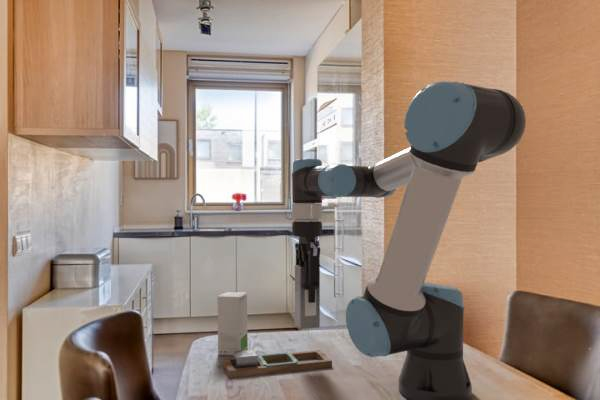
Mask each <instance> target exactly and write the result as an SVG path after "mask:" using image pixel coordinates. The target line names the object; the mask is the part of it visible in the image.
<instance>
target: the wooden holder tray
mask: <svg viewBox="0 0 600 400" xmlns="http://www.w3.org/2000/svg"><path fill="white" fill-rule="evenodd" d="M257 356H258V366H257V367H247V368H236V369H234V357H229V358H223V361H222V363H223V364H222V365H223V367H224V369H225V372H226V374H227V375H228V378H229V379H231V378H239V377H247V376H257V375H258V376H260V375H265V374H269V375H270V374H278V373H284V372H286V373H288V372H295V371H296V372H298V371H305V370H307V371H308V370H314V369H315V370H316V369H326V368H333V360H332V359H331V358H329V356H327V354H325V353H323V352H322V350H321V349H315V350H307V351H294V352H293V351H292V352H288V351H286V352H276V353H275V352H274V353H265V354H264V353H263V354H258V355H257ZM306 359H316V360H310V361H301V362H300V361H299V360H306ZM285 361H286V362H285ZM277 362H278V363H277Z"/></svg>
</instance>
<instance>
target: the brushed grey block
mask: <svg viewBox="0 0 600 400" xmlns="http://www.w3.org/2000/svg"><path fill="white" fill-rule="evenodd" d="M305 269H306V268H305V265H296V264H295V265H294V325H295V326H296V327H298V329H300V330H303V329H315V328H321V327H320V323H321V322H320V320H321V319H320V316H321V314H320V313H321V310H320V308H321V307H320V304H321V303H320V300H321V299H320V298H321V296H320V291H321V289H320V287H321V286H320V287H319V288H317V289H316V315H314V316H305V290H304V288H303V287H306V276H305Z"/></svg>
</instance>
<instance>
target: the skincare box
mask: <svg viewBox="0 0 600 400" xmlns="http://www.w3.org/2000/svg"><path fill="white" fill-rule="evenodd" d="M248 340H249V339H248V292H246V291H239V292H238V291H236V292H235V291H233V292H232V291H226V292H225V293H224V292H223V293H221V294H219V295H217V355H219V356H228V357H229V356H232V357H234V351H243V350H248V346H249V345H248V342H249V341H248Z"/></svg>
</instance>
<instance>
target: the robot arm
mask: <svg viewBox="0 0 600 400" xmlns="http://www.w3.org/2000/svg"><path fill="white" fill-rule="evenodd" d="M526 120H527V119H526V113H525V110H524V108H523V106H522V104H521V102H520V101H519V100H518V99H517V98H516V97H515V96H513V95H512V94H511V93H509V92H508V91H507V92H506V91H504V90H502V89H498V88H497V89H496V88H488V87H484V86H483V87H482V86H478V85H473V84H468V83H465V82H458V81H445V80H443V81H435V82H432V83H430V84H428V85H427V86H426V87H424V88H422V89H421V90H420V91H418V92H417V93H416V95H414V97H413V98H412V100H411V102H410V104H409V105H408V108H407V110H406V113H405V116H404V129H405V130H406V131H405V133H404V134H405V137H406V140H407V141H408V143H409V144H410V147H407V148H405V149H403V150H401V151H399V152H397V153H395V154H393V155H391V156H388V157H387V158H384V159H382V160H380V161H378V162H376V163H374V164H372V165H367V166H365V165H364V166H363V165H362V166H361V165H347V164H343V163H331V164H327V165H323V162H322V160H321V159H319V158H298V159H294V161H293V162H292V173H291V183H292V184H291V187H292V188H291V193H292V194H291V195H292V197H291V199H292V203H291V211H292V212H291V219H293V220H294V221H292V225H291V226H292V227H291V230H292V231H291V233H292V235H291V236H294V237H298V242H296V243H295V244H294V247H295V250H294V251H295V265H305V268H306V269H305V276H306V287H303V288H304V290H305V316H314V315H316V289H317V288H319V287H321V286H320V284H321V283H320V281H321V280H320V279H321V277H320V275H321V274H320V272H321V271H320V268H321V266H320V265H321V264H320V255H321V248H320V247H319V246H317V241H316V237H317V238H319V237H321V236H322V235H323V223H322V221H321V220H322V219H323V211H324V210H325V209H324V207H323V197H324V198H357V197H358V198H377V199H379V198H387V197H390V196H392V195H393V194H394V193H395V191H396V190H398V188H401V187H404V186H406V185H407V186H406V187H405V191H404V195H403V196H402V197H403V198H402V201H401V204H400V207H399V210H398V212H397V213H398V214H397V217H396V220H395V222H394V224H393V228H392V232H391V235H390V239H389V240H388V244H387V247H386V251H385V253H384V256H383V260H382V263H381V267H380V268H379V272H378V275H375V276H372V277H370V278H369V280H368V281H367V284H366V286H365V289H364V293H363V295H362V296H356V297H354V298H353V299H351V300H350V301H349V302H348V304H347V306H346V308H345V310H346V311H345V322H346V323H345V324H346V328H347V331H348V335H349V338H350V339H351V342H352V344H354V347H355V348H356V349H357V350H358V351H359V352H360V353H361V354H363V355H365V356H366V357H370V358H376V357H387V356H390V355H394V354H400V353H403V352H406V356H405V359H404V361H403V364H402V368H401V372H400V374H399V376H398V392H399V393H400V394H401V395H402V396H404V397H405V398H407V399H408V400H471V399H472V396H473V392H472V391H473V390H472V389H473V387H472V386H473V385H472V382H471V379H470V376H469V373H468V370H467V366H466V364H465V361H464V310H465V306H464V296H463V292H462V291H461V290H460V289H459V288H456V287H454V286H449V285H443V284H437V283H430V282H429V283H428V282H425V281H426V279H427V275H428V273H429V270H430V267H431V265H432V263H433V260H434V256H435V253H436V252H437V248H438V245H439V243H440V240H441V238H442V236H443V232H444V229H445V227H446V223H447V220H448V218H449V215H450V213H451V210H452V207H453V204H454V203H455V199H456V196H457V193H458V191H459V188H460V185H461V182H462V180H463V178H465V177H466V176H469V175H471V174H473V173H475V171H476V168H477V165H478V164H479V163H481V162H484V161H487V160H490V159H492V158H496V157H499V156H501V155H503V154H506V153H507V152H509V151H511V150H512V149H513V148H515V147H516V146H517V145H518V144H519V142H520V141H521V140H522V137H523V135H524V133H525V130H526V123H527V121H526Z"/></svg>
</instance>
